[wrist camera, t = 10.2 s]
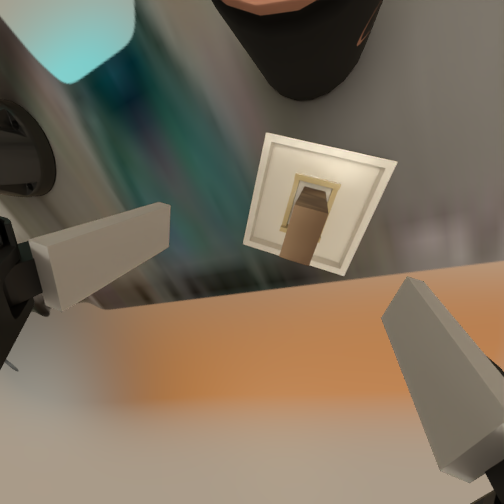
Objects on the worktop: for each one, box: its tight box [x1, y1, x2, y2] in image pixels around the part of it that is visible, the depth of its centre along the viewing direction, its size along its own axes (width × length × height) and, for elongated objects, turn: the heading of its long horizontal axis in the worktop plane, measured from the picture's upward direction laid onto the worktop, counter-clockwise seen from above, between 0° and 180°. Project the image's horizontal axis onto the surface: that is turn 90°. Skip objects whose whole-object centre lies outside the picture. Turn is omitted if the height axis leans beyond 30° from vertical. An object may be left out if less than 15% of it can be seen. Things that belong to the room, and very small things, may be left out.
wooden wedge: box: [279, 186, 329, 266], centre depth 23 cm, size 3×5×12 cm, turn 167°
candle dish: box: [243, 132, 397, 276], centre depth 28 cm, size 14×14×3 cm
